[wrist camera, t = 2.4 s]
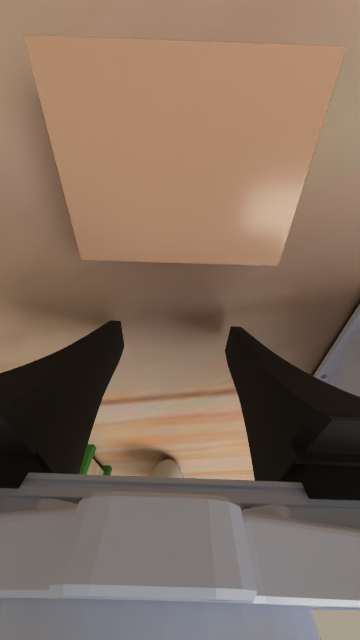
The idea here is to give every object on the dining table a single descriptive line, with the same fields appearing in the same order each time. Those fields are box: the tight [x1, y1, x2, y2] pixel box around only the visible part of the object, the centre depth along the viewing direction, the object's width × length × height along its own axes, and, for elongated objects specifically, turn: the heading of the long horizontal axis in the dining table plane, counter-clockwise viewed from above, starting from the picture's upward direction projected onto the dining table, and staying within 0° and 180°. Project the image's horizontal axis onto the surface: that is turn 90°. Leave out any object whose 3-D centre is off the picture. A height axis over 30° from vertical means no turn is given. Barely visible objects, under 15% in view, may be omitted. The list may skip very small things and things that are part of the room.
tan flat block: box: [23, 35, 347, 266], centre depth 8 cm, size 6×9×3 cm, turn 88°
